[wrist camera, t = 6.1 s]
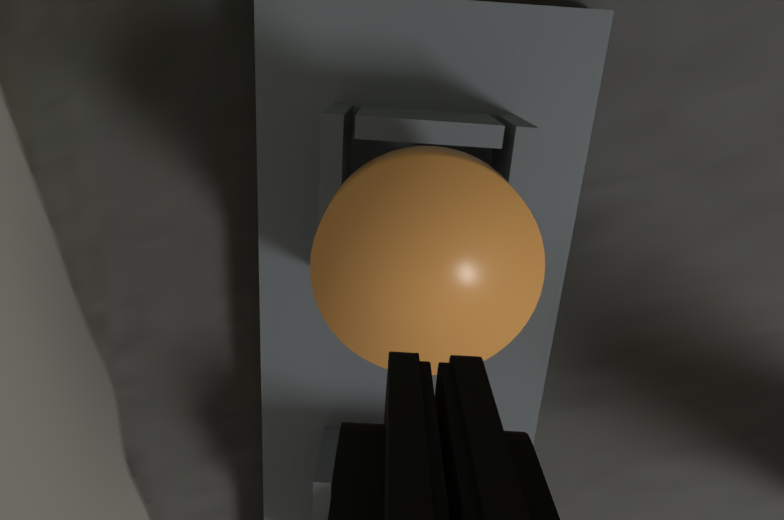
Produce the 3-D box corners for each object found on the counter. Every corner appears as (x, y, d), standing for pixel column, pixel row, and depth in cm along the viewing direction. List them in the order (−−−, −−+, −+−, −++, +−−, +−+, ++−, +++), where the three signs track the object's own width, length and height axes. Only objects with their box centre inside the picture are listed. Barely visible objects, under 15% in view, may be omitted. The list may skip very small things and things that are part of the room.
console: (265, -10, 24) (223, -29, 18) (597, 13, 24) (658, 1, 18) (272, 561, 35) (247, 659, 29) (497, 574, 35) (516, 675, 29)
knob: (334, 122, 20) (311, 148, 15) (520, 134, 21) (563, 165, 15) (329, 292, 23) (308, 368, 17) (496, 303, 23) (526, 381, 17)
